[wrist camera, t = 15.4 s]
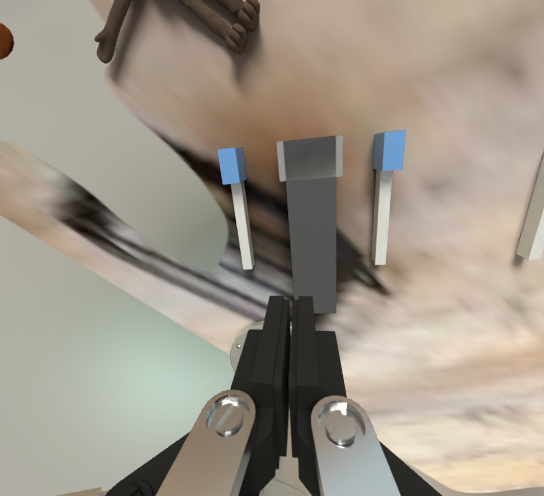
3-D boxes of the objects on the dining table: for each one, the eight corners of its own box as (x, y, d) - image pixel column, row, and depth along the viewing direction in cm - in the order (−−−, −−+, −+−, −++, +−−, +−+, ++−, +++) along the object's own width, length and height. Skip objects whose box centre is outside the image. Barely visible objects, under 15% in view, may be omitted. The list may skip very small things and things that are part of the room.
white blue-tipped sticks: (527, 253, 25) (554, 266, 22) (243, 263, 29) (237, 275, 26) (568, 114, 21) (609, 108, 18) (227, 149, 25) (217, 149, 22)
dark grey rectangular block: (335, 286, 29) (341, 313, 24) (292, 287, 30) (290, 313, 25) (334, 137, 23) (342, 135, 19) (281, 143, 24) (276, 142, 19)
